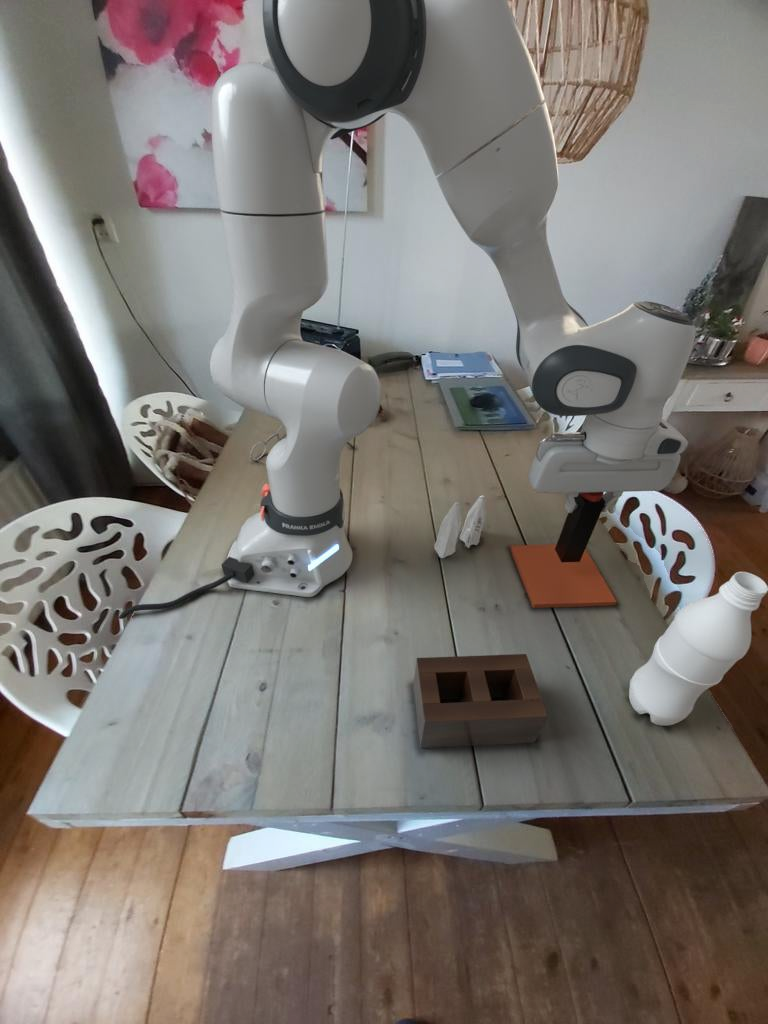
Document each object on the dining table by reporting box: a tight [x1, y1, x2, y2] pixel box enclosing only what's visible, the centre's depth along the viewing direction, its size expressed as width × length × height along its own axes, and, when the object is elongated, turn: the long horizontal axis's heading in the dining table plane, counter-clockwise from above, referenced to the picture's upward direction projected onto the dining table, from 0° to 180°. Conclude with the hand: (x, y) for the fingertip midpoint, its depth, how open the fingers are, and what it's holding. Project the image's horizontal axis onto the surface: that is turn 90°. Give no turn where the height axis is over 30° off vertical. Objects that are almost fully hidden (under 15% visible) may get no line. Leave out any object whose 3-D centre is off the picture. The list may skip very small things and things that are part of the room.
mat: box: [509, 544, 618, 609], centre depth 78 cm, size 14×14×1 cm
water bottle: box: [628, 571, 768, 726], centre depth 52 cm, size 7×7×25 cm
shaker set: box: [433, 495, 487, 559], centre depth 80 cm, size 12×4×11 cm, turn 126°
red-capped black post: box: [555, 492, 605, 562], centre depth 71 cm, size 3×3×14 cm
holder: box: [412, 653, 549, 749], centre depth 57 cm, size 8×15×7 cm, turn 93°
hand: (585, 510), depth 69 cm, fingers closed on red-capped black post, 3 cm apart
